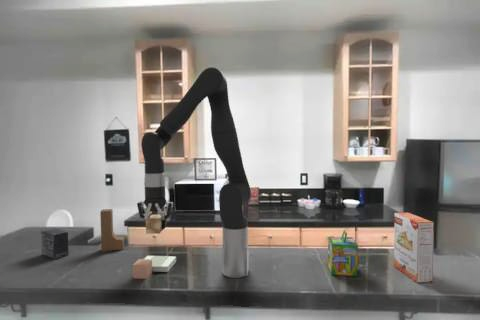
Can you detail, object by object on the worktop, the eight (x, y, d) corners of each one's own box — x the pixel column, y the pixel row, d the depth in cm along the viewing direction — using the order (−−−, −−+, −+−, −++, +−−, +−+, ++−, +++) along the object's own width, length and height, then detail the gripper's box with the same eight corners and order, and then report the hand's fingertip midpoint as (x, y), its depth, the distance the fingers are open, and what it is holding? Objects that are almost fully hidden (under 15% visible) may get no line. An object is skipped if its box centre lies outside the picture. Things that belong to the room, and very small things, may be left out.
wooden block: (124, 246, 139) (123, 208, 138) (123, 249, 134) (122, 210, 133) (103, 248, 136) (101, 209, 135) (101, 251, 132) (100, 211, 131)
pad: (176, 261, 120) (176, 256, 120) (167, 272, 110) (167, 267, 110) (147, 260, 122) (147, 255, 122) (135, 271, 111) (135, 265, 111)
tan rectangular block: (165, 226, 119) (165, 214, 119) (159, 233, 110) (159, 220, 110) (152, 226, 119) (152, 214, 119) (146, 233, 110) (145, 220, 110)
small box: (70, 255, 128) (69, 231, 128) (53, 260, 123) (52, 235, 122) (57, 250, 134) (56, 227, 134) (41, 255, 129) (40, 231, 128)
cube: (152, 272, 110) (152, 259, 110) (146, 279, 105) (146, 265, 105) (139, 272, 111) (138, 259, 110) (133, 278, 106) (132, 264, 105)
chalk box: (327, 265, 116) (327, 227, 115) (352, 266, 114) (352, 228, 114) (331, 275, 107) (331, 234, 106) (358, 277, 105) (358, 235, 105)
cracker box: (392, 266, 114) (393, 212, 113) (408, 266, 114) (409, 211, 113) (415, 283, 100) (417, 221, 99) (433, 283, 100) (435, 221, 99)
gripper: (176, 183, 117) (177, 226, 118) (141, 183, 118) (142, 225, 119) (170, 186, 110) (170, 232, 110) (132, 186, 111) (133, 231, 112)
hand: (155, 228), depth 115 cm, fingers closed on tan rectangular block, 5 cm apart
